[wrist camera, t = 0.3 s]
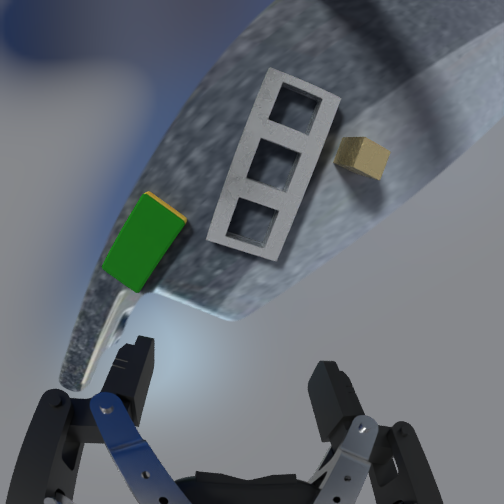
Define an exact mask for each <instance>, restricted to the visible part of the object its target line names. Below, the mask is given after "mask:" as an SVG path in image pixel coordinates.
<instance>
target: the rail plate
mask: <svg viewBox="0 0 504 504" xmlns="http://www.w3.org/2000/svg"><path fill="white" fill-rule="evenodd" d="M281 87H284V88H287V89H289V90H292V91H294V92H296V93H299V94H301V95H304V96H306V97H308V98H310V99H313V100H315V101H317V103H316V106H315V109H314V111H313V114H312V116H311V119H310V122H309V124H308V127H307V129H306V132H305V134H303V133H301V132H299V131H296V130H294V129H291V128H289V127H286V126H284V125H281V124H279V123H276V122H273V121H271V120H268V118H269V115H270V113H271V110H272V108H273V105H274V103H275V100H276V98H277V95H278V93H279V90H280V88H281ZM340 100H341V98H340V97H338V96H335V95H333V94H331V93H329V92H327V91H325V90H323V89H321V88H319V87H316V86H314V85H312V84H310V83H307V82H305V81H303V80H300V79H298V78H296V77H293V76H291V75H288V74H286V73H283V72H280V71H278V70H275V69H272V68H270V67H269V69H268V71H267V73H266V76H265V78H264V81H263V83H262V85H261V88H260V90H259V93H258V95H257V98H256V100H255V103H254V105H253V108H252V110H251V113H250V115H249V118H248V121H247V123H246V126H245V128H244V131H243V134H242V136H241V139H240V142H239V144H238V147H237V150H236V152H235V155H234V158H233V161H232V164H231V166H230V169H229V172H228V175H227V178H226V180H225V183H224V186H223V189H222V192H221V195H220V198H219V201H218V204H217V207H216V210H215V213H214V216H213V219H212V222H211V225H210V228H209V231H208V234H207V238H206V240H209V241H212V242H215V243H218V244H221V245H224V246H228V247H231V248H234V249H237V250H240V251H244V252H247V253H250V254H253V255H256V256H260V257H263V258H266V259H269V260H272V261H277V259H278V257H279V254H280V252H281V249H282V247H283V245H284V242H285V240H286V238H287V235H288V233H289V230H290V228H291V225H292V223H293V221H294V218H295V216H296V213H297V211H298V208H299V206H300V203H301V201H302V198H303V196H304V193H305V191H306V188H307V186H308V183H309V181H310V178H311V176H312V173H313V171H314V168H315V166H316V163H317V161H318V158H319V156H320V153H321V150H322V148H323V145H324V143H325V140H326V137H327V135H328V132H329V130H330V127H331V124H332V122H333V119H334V116H335V114H336V111H337V108H338V106H339V103H340ZM260 139H262V140H265V141H268V142H271V143H273V144H276V145H279V146H281V147H284V148H286V149H289V150H291V151H294V152H296V153H297V155H296V158H295V160H294V163H293V166H292V168H291V171H290V173H289V176H288V178H287V181H286V184H285V186H284V189H283V190H282V189H279V188H276V187H273V186H271V185H268V184H265V183H262V182H260V181H257V180H254V179H251V178H248V177H246V176H247V173H248V171H249V168H250V165H251V163H252V160H253V157H254V155H255V152H256V149H257V147H258V144H259V141H260ZM239 197H241V198H244V199H247V200H250V201H253V202H255V203H258V204H261V205H264V206H267V207H270V208H273V209H275V212H274V214H273V217H272V219H271V222H270V225H269V227H268V230H267V232H266V235H265V237H264V240H263V242H259V241H256V240H253V239H250V238H247V237H244V236H241V235H238V234H235V233H231V232H228V231H227V229H228V227H229V224H230V221H231V218H232V215H233V212H234V209H235V207H236V204H237V201H238V198H239Z"/></svg>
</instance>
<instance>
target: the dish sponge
mask: <svg viewBox="0 0 504 504" xmlns="http://www.w3.org/2000/svg"><path fill="white" fill-rule="evenodd" d="M186 222H187V219H186V217H185V216H183V215H182V214H180V213H179V212H178V211H176V210H175V209H173V208H172V207H171V206H169V205H168V204H166V203H165V202H164V201H162V200H161V199H160V198H158V197H157V196H155V195H154V194H153V193H151V192H150V191H149V192H146V193H144V194H142V196H141V198H140V199H139V201H138V202H137V204H136V206H135V207H134V209H133V211H132V212H131V214H130V216H129V217H128V219H127V221H126V222H125V224H124V226H123V228H122V229H121V231H120V233H119V235H118V237H117V238H116V240H115V242H114V244H113V246H112V247H111V249H110V251H109V253H108V255H107V257H106V259H105V261H104V263H103V265H102V269H103V270H105V271H106V272H107V273H109V274H110V275H111V276H113V277H114V278H116V279H117V280H118V281H120V282H121V283H123V284H124V285H126V286H127V287H128V288H130V289H131V290H133V291H134V292H136V293H139V292H140V290H141V289H142V287H143V286H144V284H145V282H146V281H147V279H148V278H149V276H150V275H151V273H152V272H153V270H154V269H155V267H156V266H157V264H158V263H159V261H160V260H161V258H162V257H163V255H164V254H165V252H166V251H167V249H168V248H169V247H170V245H171V244H172V242H173V241H174V239H175V238H176V236H177V235H178V234H179V232H180V231H181V229H182V228H183V227H184V225H185V224H186Z"/></svg>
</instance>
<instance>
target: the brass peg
mask: <svg viewBox="0 0 504 504" xmlns="http://www.w3.org/2000/svg"><path fill="white" fill-rule="evenodd" d="M389 155H390V151H389V150H387V149H385V148H383V147H382V146H380V145H378V144H377V143H375V142H373V141H371V140H370V139H368V138H366V137H343V138H342V141H341V143H340V146H339V149H338V151H337V154H336V156H335V159H334V162H333V163H335V164H337V165H339V166H341V167H343V168H345V169H347V170H350V171H352V172H354V173H356V174H359V175H362V176H366V177H369V178H373V179H376V180H379V181H380V179H381V176H382V174H383V171H384V168H385V166H386V163H387V160H388V158H389Z"/></svg>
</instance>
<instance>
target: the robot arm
mask: <svg viewBox="0 0 504 504" xmlns="http://www.w3.org/2000/svg"><path fill="white" fill-rule="evenodd" d="M153 369H154V339H153V338H149V337H144V336H138V338H137V340H136V342H135V345H131V344H127V343H126V344H125V345H124V346H123V347H122V348H120V349H119V351H118V353H117V355H116V358H115V360H114V362H113V365H112V367H111V369H110V371H109V374H108V376H107V378H106V381H105V383H104V386H103V388H102V390H101V392H100V393H98V394H96V395H94V396H93V397H92V398H89V399H76V398H70V397H69V396H68V394H67V393H66V392H64V391H62V390H59V389H51V390H48V391H46V392H45V393H44V394H43V395H42V397H41V399H40V401H39V404H38V406H37V408H36V411H35V413H34V415H33V418H32V421H31V423H30V425H29V428H28V431H27V433H26V436H25V439H24V441H23V444H22V447H21V450H20V453H19V456H18V459H17V462H16V465H15V469H14V472H13V476H12V479H11V483H10V487H9V491H8V496H7V500H6V504H75V503H74V502H73V501H72V500H73V494H74V488H75V483H76V478H77V473H78V469H79V464H80V460H81V455H82V451H83V447H84V443H105V445H106V447H107V449H108V451H109V453H110V455H111V457H112V459H113V461H114V463H115V465H116V466H117V468H118V470H119V472H120V474H121V476H122V477H123V479H124V481H125V482H126V484H127V486H128V487H129V489H130V491H131V492H132V494H133V495H134V497H135V498H136V500H137V501H138V503H139V504H355V502H356V499H357V497H358V495H359V493H360V491H361V488H362V486H363V484H364V481H365V479H366V476H367V474H368V473H369V477H370V480H371V484H372V488H373V492H374V495H375V500H376V503H377V504H443V501H442V499H441V495H440V492H439V490H438V487H437V484H436V482H435V479H434V477H433V474H432V471H431V469H430V466H429V464H428V461H427V459H426V456H425V454H424V451H423V449H422V447H421V444H420V442H419V440H418V437H417V435H416V433H415V430H414V429H413V427H412V426H411V425H410V424H409V423H407V422H404V421H399V422H397V423H395V424H394V425H393V427H387V426H380V425H378V424H377V422H376V421H375V420H374V419H372V418H371V417H369V416H366V415H365V414H364V411H363V409H362V407H361V405H360V402H359V400H358V397H357V395H356V394H355V391H354V388H353V387H352V383H351V381H350V379H349V377H348V376H347V375H346V374H345V373H344V372H343V371H339V369H338V366H337V364H336V362H334V361H319V363H318V365H317V366H316V368H315V370H314V372H313V374H312V376H311V378H310V380H309V383H308V392H309V397H310V400H311V404H312V407H313V411H314V414H315V418H316V422H317V425H318V429H319V433H320V437H321V440H322V442H331V446H330V447H329V449H328V451H327V452H326V454H325V456H324V458H323V460H322V461H321V463H320V465H319V467H318V468H317V470H316V472H315V473H314V475H313V476H312V477H311V478H310V479H309V481H308V482H305V481H301V480H297V479H296V474H286V475H271V476H267V477H263V478H258V479H253V480H243V479H239V478H236V477H232V476H228V475H224V474H218V473H208V472H199V471H196V474H195V476H191V477H185V478H181V479H178V480H176V481H174V480H173V479H172V478H171V476H170V475H169V474H168V472H167V471H166V470H165V468H164V467H163V465H162V464H161V462H160V461H159V459H158V458H157V456H156V455H155V453H154V452H153V450H152V449H151V447H150V446H149V444H148V443H147V442H146V440H143V439H142V437H141V436H140V434H139V432H138V430H137V429H136V427H135V426H137V427H139V424H140V420H141V415H142V411H143V407H144V404H145V400H146V396H147V392H148V388H149V385H150V381H151V377H152V374H153ZM393 457H394V458H395V461H396V464H397V467H398V473H397V470H396V467H395V464H394V461H393V459H392V458H393Z"/></svg>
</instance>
